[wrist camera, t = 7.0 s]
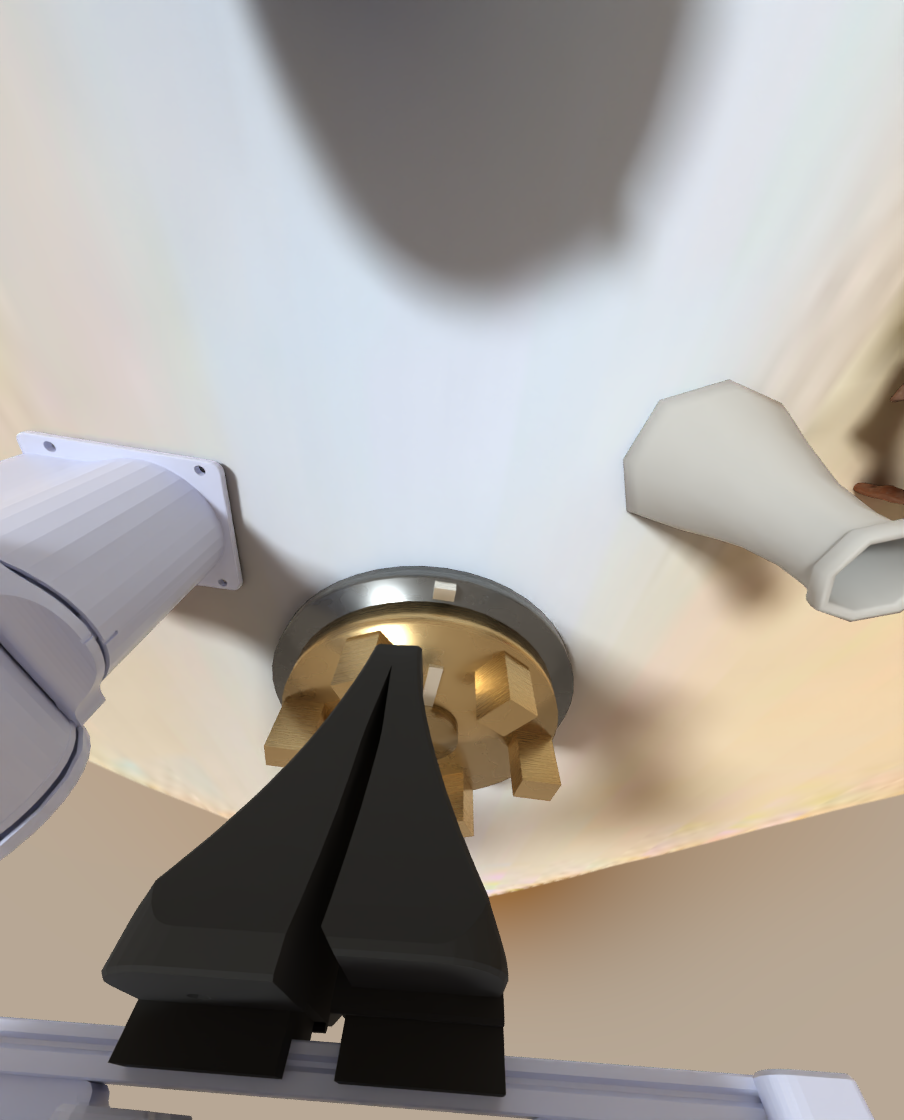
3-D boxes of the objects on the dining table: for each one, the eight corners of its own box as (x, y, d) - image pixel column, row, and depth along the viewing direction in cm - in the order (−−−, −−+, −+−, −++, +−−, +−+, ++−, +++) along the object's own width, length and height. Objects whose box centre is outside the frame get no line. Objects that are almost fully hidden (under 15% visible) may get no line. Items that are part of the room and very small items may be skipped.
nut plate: (289, 747, 33) (280, 769, 31) (264, 541, 22) (249, 559, 20) (524, 773, 34) (527, 795, 33) (616, 593, 23) (628, 614, 22)
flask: (737, 526, 21) (926, 673, 12) (603, 523, 21) (701, 666, 12) (807, 380, 17) (1159, 448, 8) (642, 376, 17) (826, 439, 8)
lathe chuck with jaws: (509, 780, 33) (517, 853, 28) (296, 752, 31) (268, 825, 27) (594, 629, 23) (625, 703, 19) (289, 576, 21) (245, 644, 17)
